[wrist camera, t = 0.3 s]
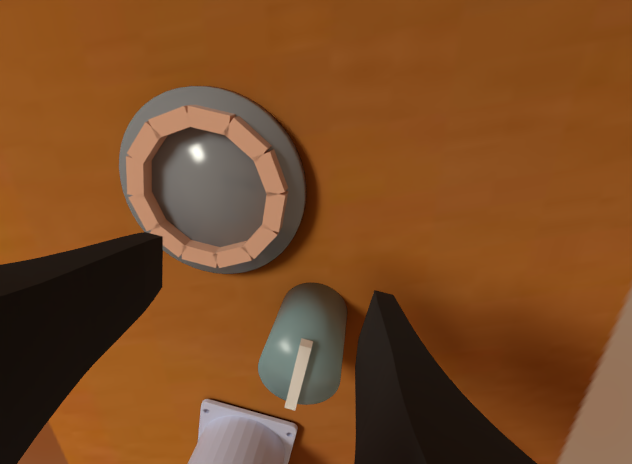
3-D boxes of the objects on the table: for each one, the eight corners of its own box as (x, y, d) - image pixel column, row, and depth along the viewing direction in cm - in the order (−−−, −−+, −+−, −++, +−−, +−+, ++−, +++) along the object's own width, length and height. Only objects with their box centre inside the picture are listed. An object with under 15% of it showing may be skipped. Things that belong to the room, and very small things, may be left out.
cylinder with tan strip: (338, 344, 24) (329, 420, 19) (277, 328, 24) (251, 398, 19) (354, 291, 22) (349, 358, 17) (288, 274, 22) (262, 335, 17)
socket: (289, 285, 23) (283, 299, 21) (130, 244, 23) (114, 255, 22) (324, 112, 18) (320, 115, 16) (124, 65, 18) (103, 64, 17)
